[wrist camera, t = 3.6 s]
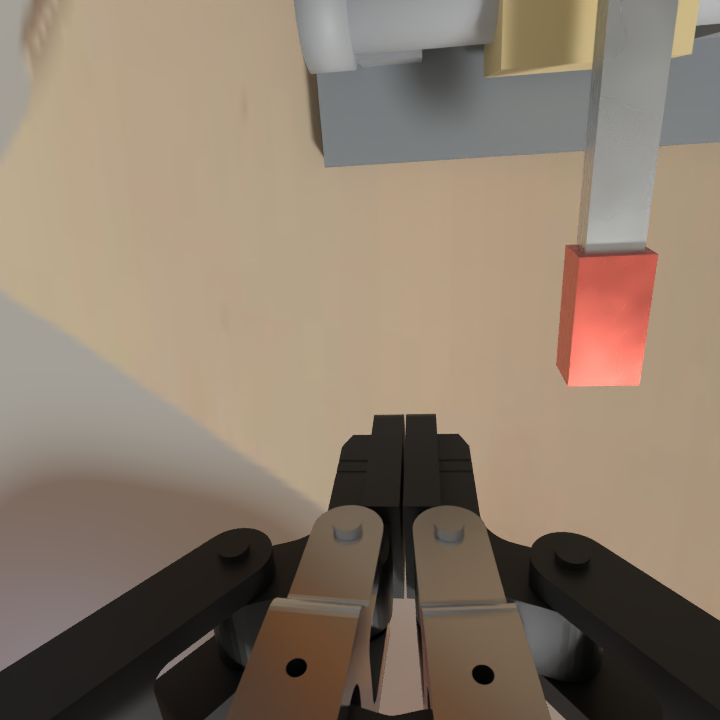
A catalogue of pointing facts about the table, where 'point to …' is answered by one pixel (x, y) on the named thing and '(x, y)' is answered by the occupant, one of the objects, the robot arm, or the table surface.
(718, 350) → the table surface
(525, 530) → the table surface
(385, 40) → the valve stand
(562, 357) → the lever
